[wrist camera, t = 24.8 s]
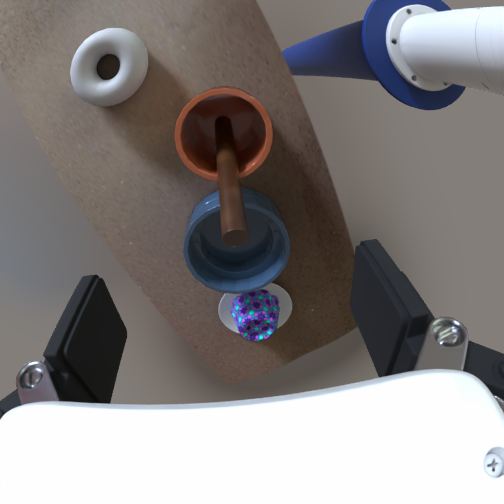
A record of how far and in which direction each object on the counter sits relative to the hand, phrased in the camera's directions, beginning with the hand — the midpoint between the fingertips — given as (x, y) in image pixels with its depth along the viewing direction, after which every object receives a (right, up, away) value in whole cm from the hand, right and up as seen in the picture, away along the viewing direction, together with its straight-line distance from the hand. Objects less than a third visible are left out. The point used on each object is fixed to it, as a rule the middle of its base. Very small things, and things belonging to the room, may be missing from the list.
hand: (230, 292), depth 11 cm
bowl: (-1, +4, +32) cm, 33 cm away
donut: (-16, +24, +19) cm, 35 cm away
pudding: (+1, -8, +40) cm, 41 cm away
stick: (-3, +16, +24) cm, 29 cm away
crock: (-3, +17, +24) cm, 30 cm away
